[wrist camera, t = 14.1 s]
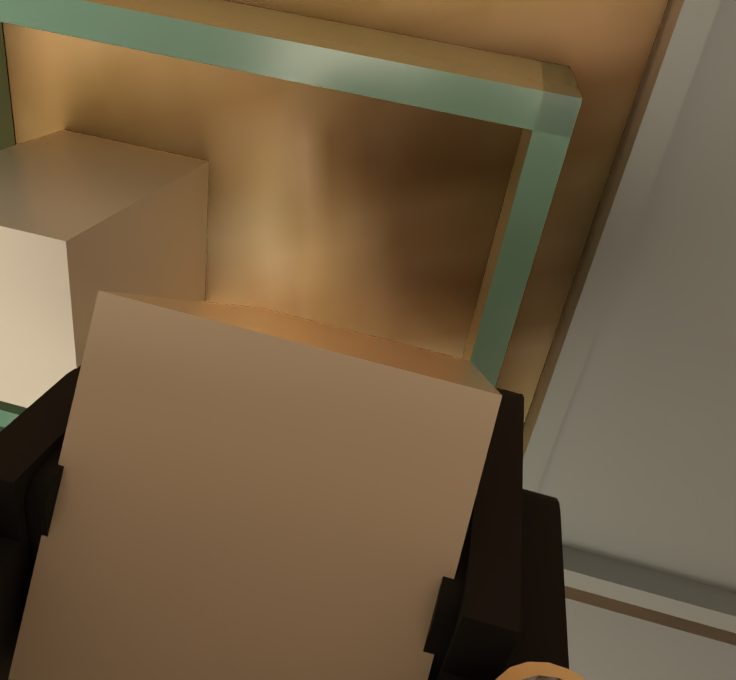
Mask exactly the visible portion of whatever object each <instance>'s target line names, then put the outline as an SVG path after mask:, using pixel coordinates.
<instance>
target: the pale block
mask: <svg viewBox="0 0 736 680" xmlns="http://www.w3.org/2000/svg"><path fill="white" fill-rule="evenodd" d="M208 182H209V161H207V160H202V159H197V158H193V157H188V156H183V155H179V154H174V153H170V152H165V151H160V150H156V149H151V148H146V147H142V146H137V145H132V144H128V143H123V142H119V141H114V140H109V139H105V138H100V137H95V136H91V135H86V134H81V133H77V132H72V131H68V130H62V131H59V132H55V133H52V134H49V135H46V136H43V137H40V138H37V139H34V140H30V141H27V142H24V143H21V144H18V145H15V146H12V147H9V148H6V149H2V150H0V401H3V402H7V403H10V404H14V405H18V406H22V407H25V408H28V407H29V406H30V405H31V404H33V403H34V402H35V401H36V400H37V399H38V398H39V397H41V396H42V395H43V394H44V393H45V392H46V391H48V390H49V389H50V388H51V387H52V386H53V385H54V384H56V383H57V382H58V381H59V380H60V379H61V378H62V377H64V376H65V375H66V374H67V373H69V372H70V371H72V370H73V369H76V368H78V367H79V366H80V365H81V363H82V359H83V355H84V351H85V346H86V342H87V338H88V333H89V329H90V325H91V320H92V316H93V312H94V308H95V303H96V299H97V295H98V291H108V292H117V293H127V294H136V295H146V296H156V297H165V298H175V299H184V300H194V301H204V302H205V288H206V253H207V217H208Z"/></svg>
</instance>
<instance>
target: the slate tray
mask: <svg viewBox="0 0 736 680" xmlns="http://www.w3.org/2000/svg"><path fill="white" fill-rule="evenodd" d="M523 489H526V490H529V491H533V492H537V493H540V494H544V495H548V496H551V497H555V498H557V499H558V501H559V504H560V511H561V529H562V547H563V565H564V583H565V601H566V619H567V637H568V656H569V669H570V670H572V671H573V672H575V673H577V674H578V675H580V676H582V677H583V678H585V679H587V680H736V0H669V1H668V4H667V7H666V10H665V13H664V16H663V19H662V22H661V25H660V28H659V31H658V34H657V37H656V39H655V42H654V45H653V48H652V51H651V54H650V57H649V60H648V63H647V66H646V69H645V72H644V75H643V78H642V80H641V83H640V86H639V89H638V92H637V95H636V98H635V101H634V104H633V107H632V110H631V113H630V116H629V119H628V122H627V124H626V127H625V130H624V133H623V136H622V139H621V142H620V145H619V148H618V151H617V154H616V157H615V160H614V163H613V165H612V168H611V171H610V174H609V177H608V180H607V183H606V186H605V189H604V192H603V195H602V198H601V201H600V204H599V207H598V209H597V212H596V215H595V218H594V221H593V224H592V227H591V230H590V233H589V236H588V239H587V242H586V245H585V248H584V250H583V253H582V256H581V259H580V262H579V265H578V268H577V271H576V274H575V277H574V280H573V283H572V286H571V289H570V292H569V294H568V297H567V300H566V303H565V306H564V309H563V312H562V315H561V318H560V321H559V324H558V327H557V330H556V333H555V335H554V338H553V341H552V344H551V347H550V350H549V353H548V356H547V359H546V362H545V365H544V368H543V371H542V374H541V377H540V379H539V382H538V385H537V388H536V391H535V394H534V397H533V400H532V403H531V406H530V409H529V412H528V415H527V418H526V420H525V423H524V426H523Z"/></svg>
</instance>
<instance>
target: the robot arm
mask: <svg viewBox="0 0 736 680" xmlns="http://www.w3.org/2000/svg"><path fill="white" fill-rule="evenodd" d="M80 368H81V365H80V366H79V367H78V368H76V369H73V370H72V371H70V372H69V373H67V374H66V375H65V376H64V377H62V378H61V379H60V380H59V381H58V382H57V383H56V384H54V385H53V386H52V387H51V388H50V389H49V390H48V391H46V392H45V393H44V394H43V395H42V396H41V397H39V398H38V399H37V400H36V401H35V402H34V403H33V404H31V405H30V406H29V407H28V408H27V409H26V410H25V411H23V412H22V413H21V414H20V415H19V416H18V417H17V418H15V419H14V420H13V421H12V422H11V423H10V424H9V425H7V426H6V427H5V428H4V429H3V430H2V431H0V680H8V678H9V674H10V669H11V665H12V661H13V656H14V652H15V648H16V643H17V639H18V635H19V631H20V626H21V622H22V618H23V613H24V609H25V605H26V600H27V596H28V592H29V587H30V583H31V579H32V575H33V570H34V566H35V562H36V557H37V553H38V549H39V544H40V540H41V536H42V535H43V536H47V537H48V533H49V529H50V525H51V521H52V516H53V512H54V508H55V504H56V499H57V495H58V491H59V486H60V482H61V478H62V474H63V469H64V466H62V465H58V463H59V458H60V454H61V450H62V445H63V441H64V437H65V432H66V428H67V424H68V419H69V415H70V411H71V407H72V402H73V398H74V394H75V389H76V385H77V381H78V376H79V372H80ZM496 389H497V390H498V391H499V393H500V394H501V395H502V399H501V402H500V406H499V410H498V414H497V418H496V421H495V425H494V429H493V433H492V437H491V440H490V444H489V448H488V452H487V456H486V459H485V463H484V467H483V471H482V475H481V478H480V482H479V486H478V490H477V494H476V497H475V501H474V505H473V509H472V513H471V517H470V520H469V524H468V528H467V532H466V536H465V539H464V543H463V547H462V551H461V555H460V558H459V562H458V566H457V570H456V574H455V577H454V579H451V578H448V577H445V576H443V578H442V582H441V585H440V589H439V593H438V597H437V601H436V604H435V608H434V612H433V616H432V619H431V623H430V627H429V631H428V635H427V638H426V642H425V646H424V650H423V652H427V653H430V654H433V655H434V657H433V661H432V665H431V669H430V673H429V676H428V680H587V679H585V678H583V677H582V676H580V675H578V674H577V673H575V672H573V671H572V670H570V669H569V656H568V637H567V619H566V601H565V583H564V565H563V547H562V529H561V511H560V504H559V501H558V499H557V498H555V497H551V496H548V495H544V494H540V493H537V492H533V491H529V490H526V489H523V426H524V396H523V395H522V394H518V393H515V392H511V391H507V390H503V389H499V388H496Z"/></svg>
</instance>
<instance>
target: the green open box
mask: <svg viewBox="0 0 736 680" xmlns="http://www.w3.org/2000/svg"><path fill="white" fill-rule="evenodd" d="M2 22H4V23H9V24H14V25H19V26H24V27H28V28H33V29H38V30H43V31H48V32H53V33H58V34H63V35H68V36H73V37H77V38H82V39H87V40H92V41H97V42H102V43H107V44H112V45H117V46H122V47H126V48H131V49H136V50H141V51H146V52H151V53H156V54H161V55H166V56H171V57H176V58H180V59H185V60H190V61H195V62H200V63H205V64H210V65H215V66H220V67H225V68H229V69H234V70H239V71H244V72H249V73H254V74H259V75H264V76H269V77H274V78H278V79H283V80H288V81H293V82H298V83H303V84H308V85H313V86H318V87H323V88H328V89H332V90H337V91H342V92H347V93H352V94H357V95H362V96H367V97H372V98H377V99H381V100H386V101H391V102H396V103H401V104H406V105H411V106H416V107H421V108H426V109H430V110H435V111H440V112H445V113H450V114H455V115H460V116H465V117H470V118H475V119H480V120H484V121H489V122H494V123H499V124H504V125H509V126H514V127H519V128H523V131H522V135H521V138H520V142H519V146H518V150H517V153H516V157H515V161H514V165H513V169H512V172H511V176H510V180H509V184H508V187H507V191H506V195H505V199H504V202H503V206H502V210H501V214H500V217H499V221H498V225H497V229H496V233H495V236H494V240H493V244H492V248H491V251H490V255H489V259H488V263H487V266H486V270H485V274H484V278H483V282H482V285H481V289H480V293H479V297H478V300H477V304H476V308H475V312H474V315H473V319H472V323H471V327H470V330H469V334H468V338H467V342H466V346H465V349H464V353H463V357H462V359H464V360H468V361H470V362H471V363H472V364H473V365H474V366H475V367H476V368H477V369H478V370H479V371H480V372H481V373H482V374H483V375H484V377H485V378H486V379H487V380H488V381H489V382H490V383H491V384H492V385H493V386H494V387H495V386H496V383H497V380H498V376H499V373H500V370H501V366H502V363H503V360H504V357H505V353H506V350H507V347H508V343H509V340H510V337H511V333H512V330H513V327H514V324H515V320H516V317H517V314H518V310H519V307H520V304H521V300H522V297H523V294H524V291H525V287H526V284H527V281H528V277H529V274H530V271H531V267H532V264H533V261H534V258H535V254H536V251H537V248H538V244H539V241H540V238H541V234H542V231H543V228H544V225H545V221H546V218H547V215H548V211H549V208H550V205H551V201H552V198H553V195H554V192H555V188H556V185H557V182H558V178H559V175H560V172H561V168H562V165H563V162H564V159H565V155H566V152H567V149H568V145H569V142H570V139H571V135H572V132H573V129H574V126H575V122H576V119H577V116H578V112H579V109H580V106H581V102H582V96H581V94H580V91H579V89H578V86H577V84H576V82H575V79H574V77H573V74H572V72H571V69H570V67H569V66H564V65H558V64H553V63H548V62H543V61H538V60H532V59H527V58H522V57H517V56H511V55H506V54H501V53H496V52H491V51H485V50H480V49H475V48H470V47H465V46H459V45H454V44H449V43H444V42H439V41H433V40H428V39H423V38H418V37H413V36H407V35H402V34H397V33H392V32H386V31H381V30H376V29H371V28H366V27H360V26H355V25H350V24H345V23H340V22H334V21H329V20H324V19H319V18H314V17H308V16H303V15H298V14H293V13H288V12H282V11H277V10H272V9H267V8H261V7H256V6H251V5H246V4H241V3H235V2H230V1H225V0H0V150H2V149H6V148H9V147H12V146H15V137H14V128H13V119H12V111H11V102H10V93H9V84H8V75H7V66H6V57H5V48H4V39H3V30H2ZM26 409H27V408H25V407H22V406H18V405H14V404H10V403H7V402H3V401H0V431H2V430H3V429H4V428H5V427H6V426H7V425H9V424H10V423H11V422H12V421H13V420H14V419H15V418H17V417H18V416H19V415H20V414H21V413H22V412H23V411H25V410H26ZM8 680H11V679H8Z"/></svg>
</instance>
